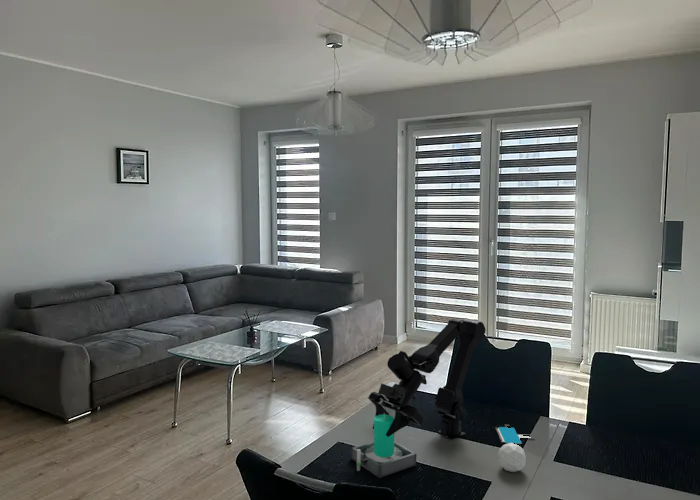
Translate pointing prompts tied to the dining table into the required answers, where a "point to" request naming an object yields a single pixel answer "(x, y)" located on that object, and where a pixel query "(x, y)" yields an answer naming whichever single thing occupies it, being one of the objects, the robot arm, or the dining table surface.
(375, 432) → the candle
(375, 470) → the scale housing
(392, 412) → the skincare box
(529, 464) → the dining table surface
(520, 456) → the geometric ball
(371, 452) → the scale pan
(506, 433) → the phone stand
